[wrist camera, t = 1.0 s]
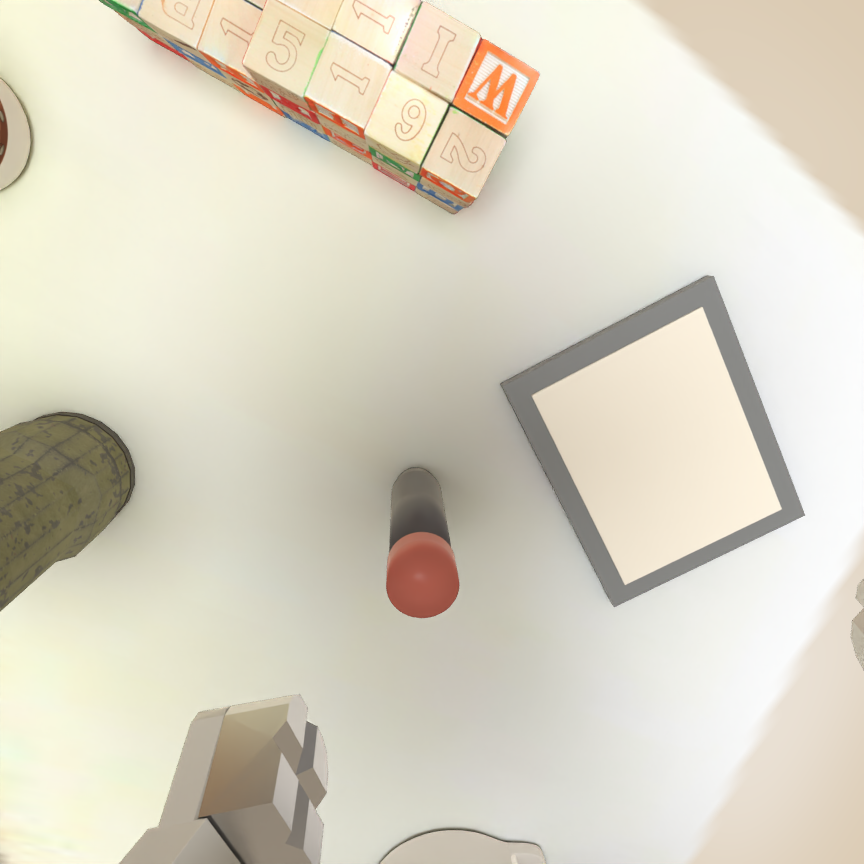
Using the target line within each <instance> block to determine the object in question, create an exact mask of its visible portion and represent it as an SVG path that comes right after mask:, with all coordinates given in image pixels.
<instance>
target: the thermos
mask: <svg viewBox="0 0 864 864" xmlns="http://www.w3.org/2000/svg"><path fill="white" fill-rule="evenodd" d="M134 485H135V467H134V465H133V462H132V459H131V456H130V453H129V450H128V449H127V447H126V446H125V445H124V443H123V442H122V441H121V439H120V438H119V436H118V435H117V434H116V433H115V432H113V431H112V430H111V429H109V428H108V427H107V426H106V425H104V424H103V423H102V422H100V421H98V420H95V419H93V418H90V417H88V416H85V415H83V414H77V413H67V412H58V413H53V414H48V415H43V416H41V417H39V418H37V419H35V420H33V421H29V422H24V423H19V424H17V425H15V426H12V427H10V428H8V429H6V430H3V431H1V432H0V611H1V610H2V609H4V608H5V607H6V606H7V605H8V604H9V603H10V602H11V601H13V600H14V599H15V598H16V597H17V596H18V595H19V594H20V593H21V592H23V591H24V590H25V589H26V588H27V587H28V586H29V585H30V584H32V583H33V582H34V581H35V580H36V579H37V578H38V577H39V576H40V575H42V574H43V573H44V572H45V571H46V570H47V569H48V568H49V567H50V566H52V565H53V564H54V563H55V562H57V561H61V560H64V559H68V558H71V557H75V556H76V555H77V554H78V553H79V552H80V551H81V550H82V549H84V548H85V547H86V546H87V545H88V544H89V543H90V542H91V541H92V540H93V539H94V538H95V537H96V536H97V535H99V534H100V533H101V532H102V531H103V530H104V529H105V527H106V526H107V525H108V524H109V523H110V522H111V521H112V519H113V518H114V517H115V516H116V515H117V514H118V513H119V512H120V510H121V509H122V508H123V507H124V506H125V505H126V503H127V502H128V501H129V499H130V496H131V493H132V491H133V488H134Z"/></svg>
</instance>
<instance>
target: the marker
mask: <svg viewBox="0 0 864 864" xmlns="http://www.w3.org/2000/svg"><path fill="white" fill-rule="evenodd" d="M386 589H387V594H388V597H389V599H390V601H391V603H392V604H393V605H394V606H395V607H396V609H398V610H399V611H400V612H402V613H404V614H406V615H408V616H411V617H416V618H428V617H432V616H436V615H438V614H440V613H442V612H444V611H445V610H446V609H448V608H449V607H450V606H451V605H452V603H453V602H454V600H455V599H456V597H457V594H458V591H459V579H458V573H457V567H456V562H455V556H454V553H453V550H452V548H451V544H450V538H449V533H448V527H447V521H446V516H445V510H444V504H443V499H442V493H441V488H440V485H439V483H438V481H437V480H436V479H435V478H434V477H433V476H432V475H431V473H429V472H428V471H427V470H425V469H422V468H410V469H407V470H405V471H404V472H403V473H401V475H400V476H399V477H398V479H397V480H396V481H395V483H394V485H393V487H392V492H391V519H390V549H389V555H388V560H387V581H386Z"/></svg>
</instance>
